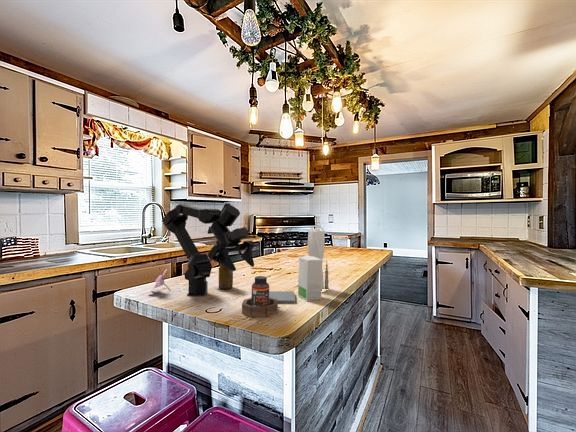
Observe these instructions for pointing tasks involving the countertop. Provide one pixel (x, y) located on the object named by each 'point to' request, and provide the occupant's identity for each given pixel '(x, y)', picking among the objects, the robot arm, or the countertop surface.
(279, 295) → the pad
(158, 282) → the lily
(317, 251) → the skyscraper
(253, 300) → the supplement bottle
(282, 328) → the countertop surface
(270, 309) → the collar ring
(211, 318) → the countertop surface
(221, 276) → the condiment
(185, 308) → the countertop surface
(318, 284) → the skincare box
